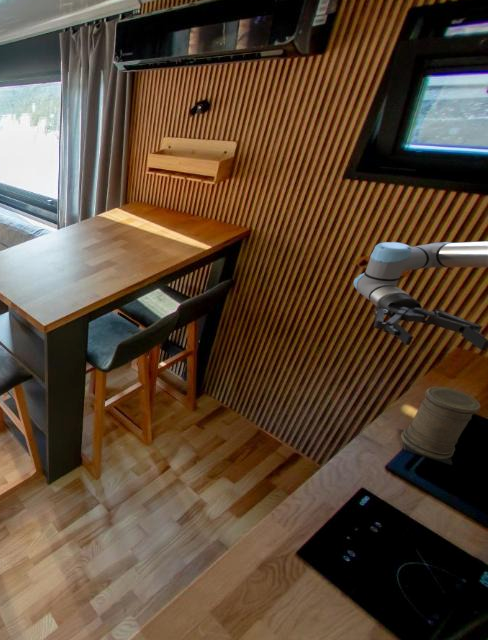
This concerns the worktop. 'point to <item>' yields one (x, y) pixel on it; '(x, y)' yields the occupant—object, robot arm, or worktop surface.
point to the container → (439, 422)
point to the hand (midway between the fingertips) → (446, 343)
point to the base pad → (406, 448)
